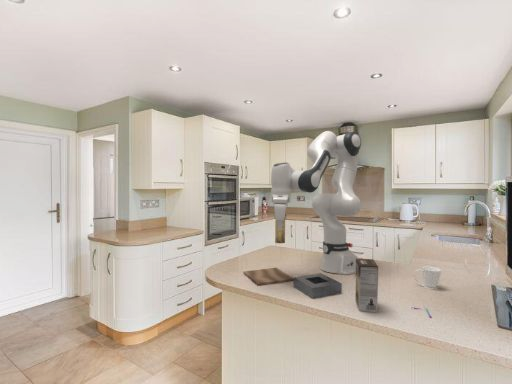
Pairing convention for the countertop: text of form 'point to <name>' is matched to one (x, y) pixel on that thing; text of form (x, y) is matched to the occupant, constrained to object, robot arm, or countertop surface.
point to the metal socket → (317, 285)
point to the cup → (430, 276)
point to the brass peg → (280, 232)
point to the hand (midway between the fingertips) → (280, 228)
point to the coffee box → (366, 285)
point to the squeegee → (427, 312)
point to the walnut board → (268, 276)
